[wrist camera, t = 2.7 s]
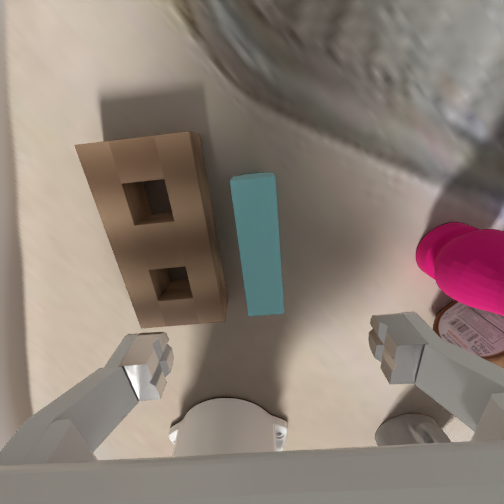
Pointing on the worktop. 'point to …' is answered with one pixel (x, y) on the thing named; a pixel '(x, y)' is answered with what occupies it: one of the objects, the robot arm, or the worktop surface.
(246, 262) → the clip
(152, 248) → the slotted wooden block
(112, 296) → the worktop surface
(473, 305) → the pepper mill
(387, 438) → the coffee mug
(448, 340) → the tin
